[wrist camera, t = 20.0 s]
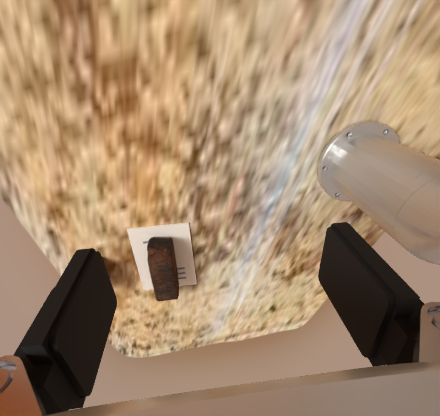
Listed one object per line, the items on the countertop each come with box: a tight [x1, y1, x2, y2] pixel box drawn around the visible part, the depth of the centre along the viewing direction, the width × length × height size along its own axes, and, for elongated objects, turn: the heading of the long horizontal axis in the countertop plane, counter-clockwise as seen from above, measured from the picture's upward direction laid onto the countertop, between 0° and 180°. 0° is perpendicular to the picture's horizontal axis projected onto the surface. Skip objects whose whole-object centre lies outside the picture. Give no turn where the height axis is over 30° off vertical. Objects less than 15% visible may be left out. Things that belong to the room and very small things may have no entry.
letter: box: [127, 222, 197, 290], centre depth 46 cm, size 10×14×1 cm
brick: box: [147, 237, 179, 301], centre depth 44 cm, size 11×4×5 cm, turn 2°
